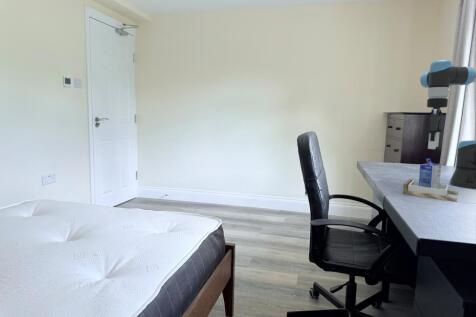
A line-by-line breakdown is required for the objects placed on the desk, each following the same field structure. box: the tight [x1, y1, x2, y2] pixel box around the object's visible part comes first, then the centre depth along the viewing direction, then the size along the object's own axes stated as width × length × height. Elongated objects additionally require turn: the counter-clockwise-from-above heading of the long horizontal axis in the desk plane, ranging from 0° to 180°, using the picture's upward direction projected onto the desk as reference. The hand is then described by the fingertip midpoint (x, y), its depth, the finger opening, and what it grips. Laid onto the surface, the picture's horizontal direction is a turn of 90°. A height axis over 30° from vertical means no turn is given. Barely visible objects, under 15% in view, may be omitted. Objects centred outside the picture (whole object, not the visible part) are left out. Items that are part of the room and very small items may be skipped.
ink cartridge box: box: [418, 158, 442, 189], centre depth 142 cm, size 10×6×14 cm, turn 130°
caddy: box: [408, 180, 449, 196], centre depth 143 cm, size 14×14×4 cm
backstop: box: [402, 178, 459, 202], centre depth 143 cm, size 20×16×4 cm
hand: (433, 147), depth 141 cm, fingers open, 13 cm apart
